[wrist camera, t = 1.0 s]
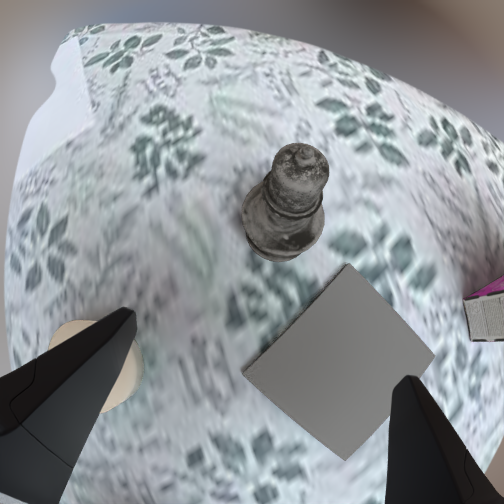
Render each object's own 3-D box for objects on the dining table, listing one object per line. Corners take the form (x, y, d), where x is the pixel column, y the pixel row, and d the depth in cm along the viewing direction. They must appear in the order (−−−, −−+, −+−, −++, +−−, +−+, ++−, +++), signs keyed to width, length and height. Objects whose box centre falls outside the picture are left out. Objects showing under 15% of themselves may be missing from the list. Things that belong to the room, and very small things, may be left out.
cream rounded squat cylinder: (109, 416, 20) (88, 430, 16) (60, 354, 21) (34, 357, 17) (161, 368, 21) (145, 377, 17) (106, 304, 22) (83, 300, 18)
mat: (343, 458, 19) (345, 461, 19) (242, 373, 21) (242, 374, 21) (431, 355, 22) (435, 355, 21) (346, 264, 23) (349, 263, 23)
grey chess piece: (262, 185, 25) (277, 84, 13) (324, 216, 24) (383, 135, 13) (228, 244, 23) (215, 169, 12) (294, 278, 23) (345, 234, 11)
